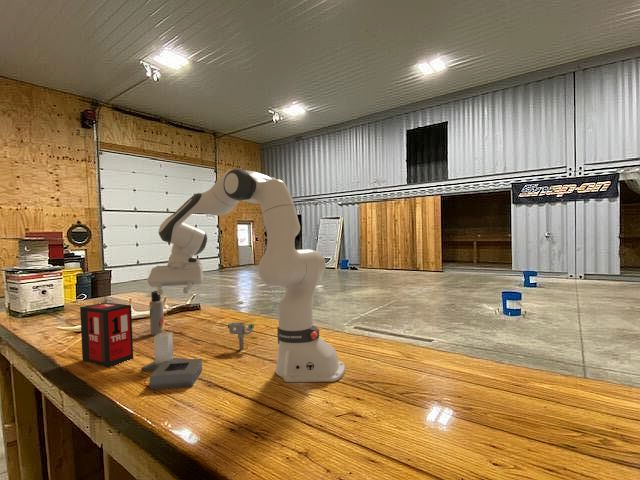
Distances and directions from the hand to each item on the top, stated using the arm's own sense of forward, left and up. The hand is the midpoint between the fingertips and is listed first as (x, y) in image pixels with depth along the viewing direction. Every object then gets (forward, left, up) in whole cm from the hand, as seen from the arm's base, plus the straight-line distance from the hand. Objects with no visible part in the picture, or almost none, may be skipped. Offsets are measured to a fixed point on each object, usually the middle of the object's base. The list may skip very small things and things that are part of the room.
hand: (172, 293), depth 127 cm
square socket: (-16, +20, -23) cm, 34 cm away
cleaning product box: (+22, +9, -24) cm, 33 cm away
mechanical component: (-23, -9, -24) cm, 34 cm away
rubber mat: (-4, +11, -23) cm, 26 cm away
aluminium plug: (-4, +11, -22) cm, 25 cm away
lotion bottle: (+27, -23, -24) cm, 43 cm away
